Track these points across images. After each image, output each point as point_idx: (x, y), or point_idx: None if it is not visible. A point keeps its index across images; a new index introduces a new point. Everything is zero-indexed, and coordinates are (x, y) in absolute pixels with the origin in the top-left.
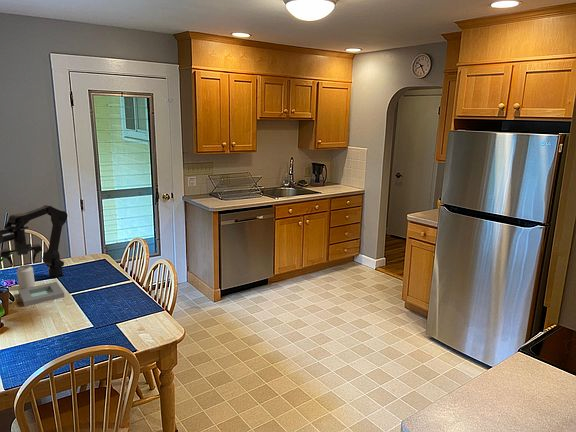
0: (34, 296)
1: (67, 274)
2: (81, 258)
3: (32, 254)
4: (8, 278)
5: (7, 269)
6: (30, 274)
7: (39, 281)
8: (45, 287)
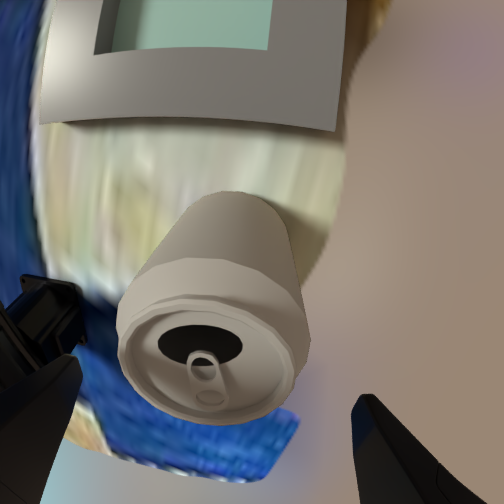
0: None
1: (11, 285)
2: None
3: (6, 492)
4: (281, 425)
5: (252, 480)
6: (172, 239)
7: None
8: (127, 52)
